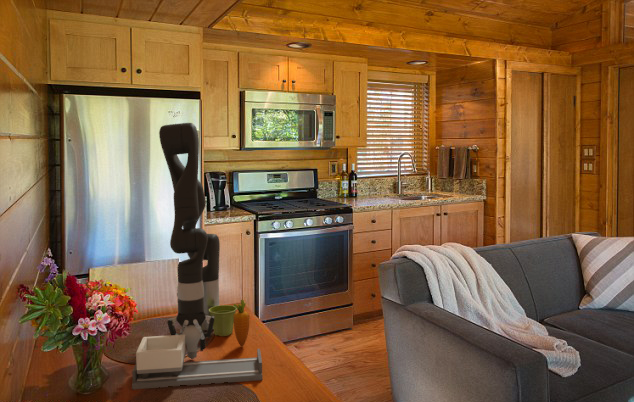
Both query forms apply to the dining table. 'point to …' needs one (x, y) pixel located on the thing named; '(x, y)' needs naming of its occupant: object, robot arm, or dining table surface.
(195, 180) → the robot arm
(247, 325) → the carrot
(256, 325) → the dining table surface
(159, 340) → the cream open box
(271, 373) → the dining table surface
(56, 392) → the dining table surface
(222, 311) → the plant pot
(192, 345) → the lightbulb
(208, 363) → the rail board
